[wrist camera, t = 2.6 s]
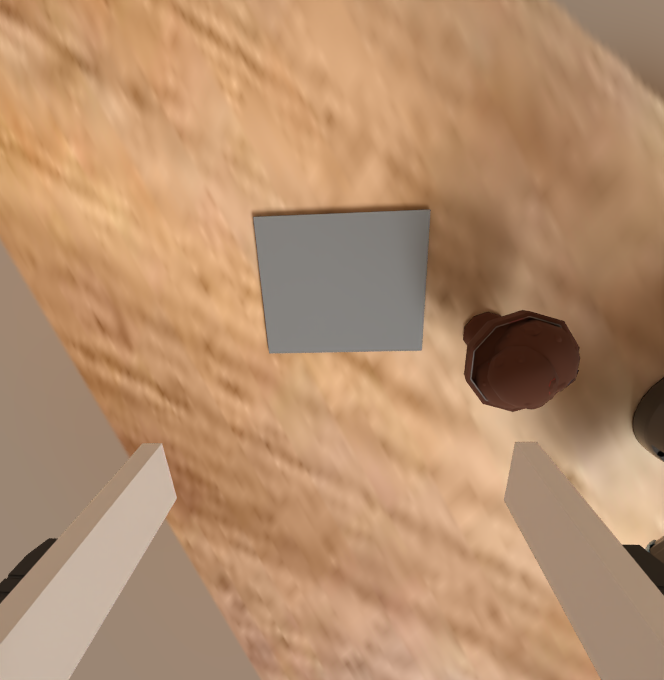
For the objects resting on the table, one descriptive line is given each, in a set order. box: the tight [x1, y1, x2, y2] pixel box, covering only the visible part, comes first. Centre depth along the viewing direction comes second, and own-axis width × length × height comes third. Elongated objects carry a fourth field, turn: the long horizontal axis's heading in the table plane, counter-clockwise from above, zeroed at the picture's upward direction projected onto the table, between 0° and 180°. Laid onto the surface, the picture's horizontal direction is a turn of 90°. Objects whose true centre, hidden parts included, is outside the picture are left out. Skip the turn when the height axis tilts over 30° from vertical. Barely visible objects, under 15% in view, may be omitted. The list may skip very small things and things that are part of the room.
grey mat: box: [253, 210, 431, 353], centre depth 41 cm, size 20×17×1 cm
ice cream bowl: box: [463, 310, 580, 412], centre depth 35 cm, size 11×11×15 cm
